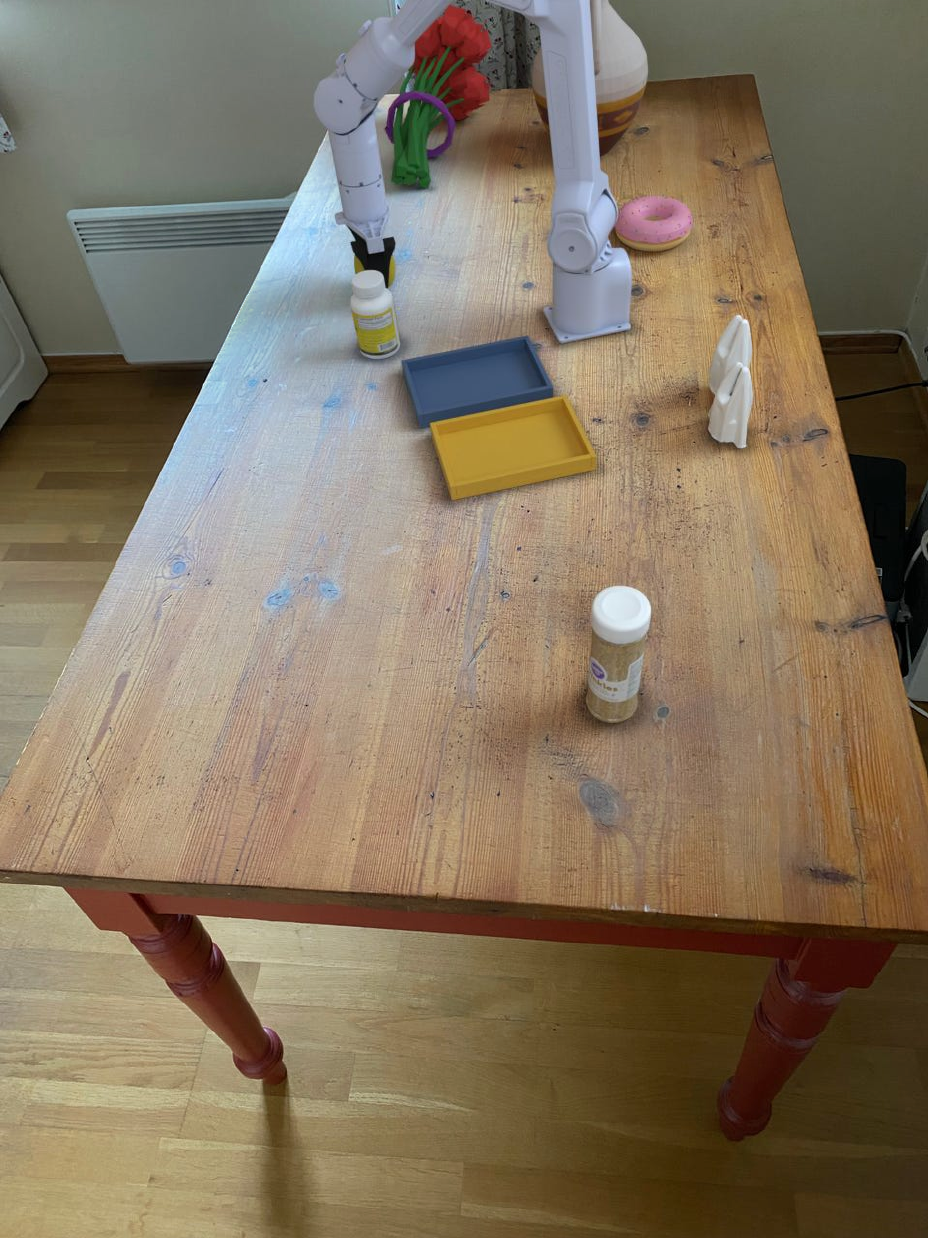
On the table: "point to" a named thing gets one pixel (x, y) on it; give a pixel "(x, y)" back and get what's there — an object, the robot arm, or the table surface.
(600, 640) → the sprinkles bottle
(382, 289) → the supplement bottle
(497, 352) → the blue tray
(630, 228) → the doughnut
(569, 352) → the table surface
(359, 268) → the lemon
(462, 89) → the bouquet
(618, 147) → the table surface
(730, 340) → the shaker set
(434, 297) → the table surface
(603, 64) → the jug
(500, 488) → the yellow tray
